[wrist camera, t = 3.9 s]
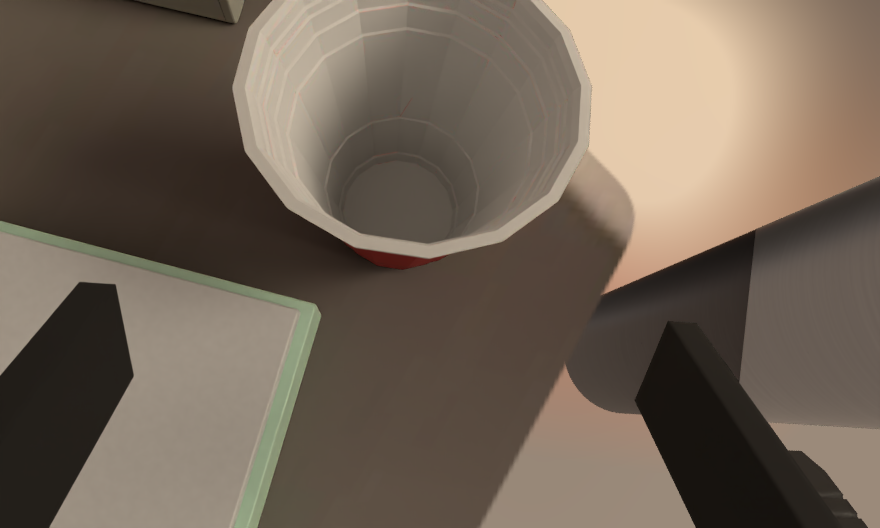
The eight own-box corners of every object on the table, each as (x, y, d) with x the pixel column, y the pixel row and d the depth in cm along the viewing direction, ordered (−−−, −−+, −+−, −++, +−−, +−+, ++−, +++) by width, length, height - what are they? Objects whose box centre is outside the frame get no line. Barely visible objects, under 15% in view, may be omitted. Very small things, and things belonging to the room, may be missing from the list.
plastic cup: (446, 80, 30) (497, -115, 19) (540, 262, 29) (659, 170, 17) (248, 154, 28) (169, -17, 17) (339, 355, 27) (321, 323, 15)
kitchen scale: (321, 314, 27) (315, 300, 23) (201, 713, 23) (169, 777, 19) (-28, 222, 26) (-97, 191, 22) (-221, 624, 22) (-347, 674, 18)
